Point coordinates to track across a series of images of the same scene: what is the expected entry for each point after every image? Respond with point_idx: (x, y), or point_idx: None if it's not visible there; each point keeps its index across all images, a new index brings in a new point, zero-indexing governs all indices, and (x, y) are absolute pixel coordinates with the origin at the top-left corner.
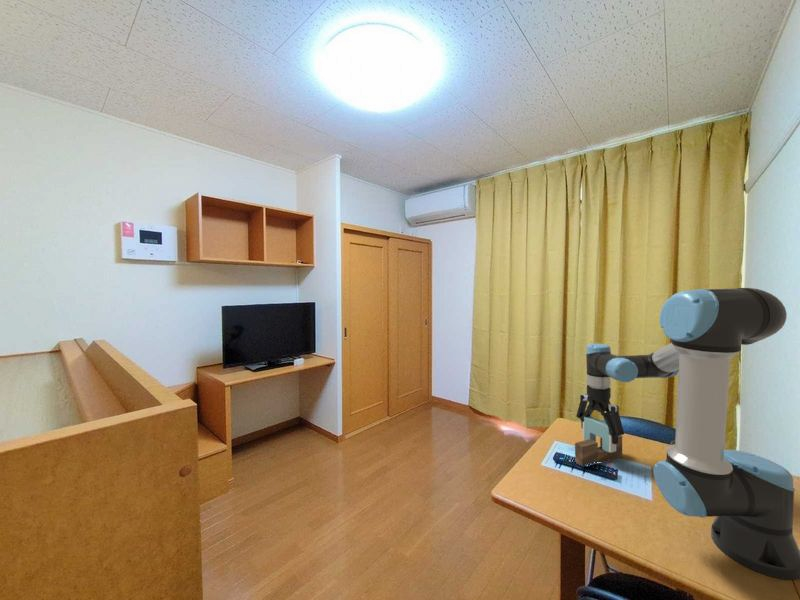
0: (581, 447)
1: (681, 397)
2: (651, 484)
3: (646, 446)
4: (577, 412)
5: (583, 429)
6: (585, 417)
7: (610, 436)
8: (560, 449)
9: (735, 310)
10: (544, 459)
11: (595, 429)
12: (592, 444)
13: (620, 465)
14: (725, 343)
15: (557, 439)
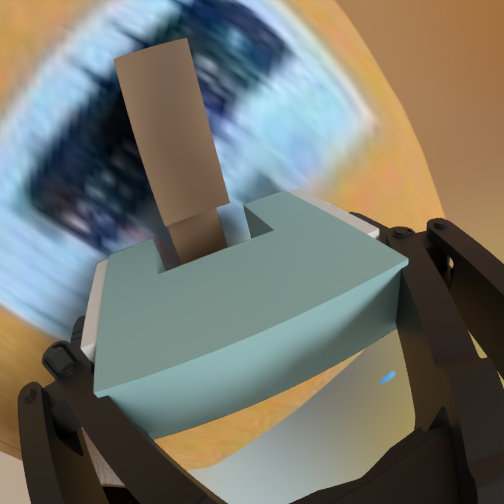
0: (119, 58)
1: None
2: (20, 317)
3: (260, 406)
4: (469, 237)
5: (331, 209)
6: (396, 267)
7: (82, 336)
8: (309, 87)
9: None
10: None
11: (237, 276)
12: (145, 170)
13: None
14: None
15: (380, 137)
